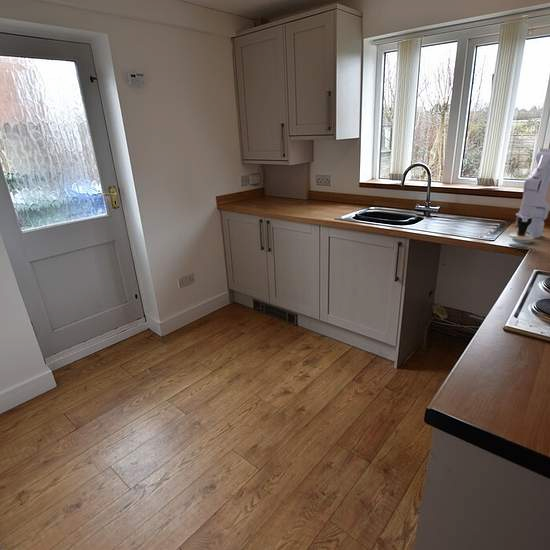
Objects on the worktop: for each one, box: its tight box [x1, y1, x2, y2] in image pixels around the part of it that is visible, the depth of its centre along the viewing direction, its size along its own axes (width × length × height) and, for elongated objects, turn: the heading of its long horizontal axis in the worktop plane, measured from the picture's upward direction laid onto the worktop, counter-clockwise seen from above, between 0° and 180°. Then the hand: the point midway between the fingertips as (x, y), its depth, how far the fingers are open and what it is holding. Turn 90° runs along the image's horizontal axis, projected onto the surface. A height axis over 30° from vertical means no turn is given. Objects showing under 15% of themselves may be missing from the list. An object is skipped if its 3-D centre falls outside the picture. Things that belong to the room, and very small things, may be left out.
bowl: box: [511, 230, 533, 244], centre depth 185 cm, size 8×8×4 cm
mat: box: [508, 243, 529, 250], centre depth 178 cm, size 8×8×1 cm
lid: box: [508, 227, 533, 241], centre depth 175 cm, size 10×10×4 cm
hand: (521, 233), depth 175 cm, fingers closed on lid, 4 cm apart
